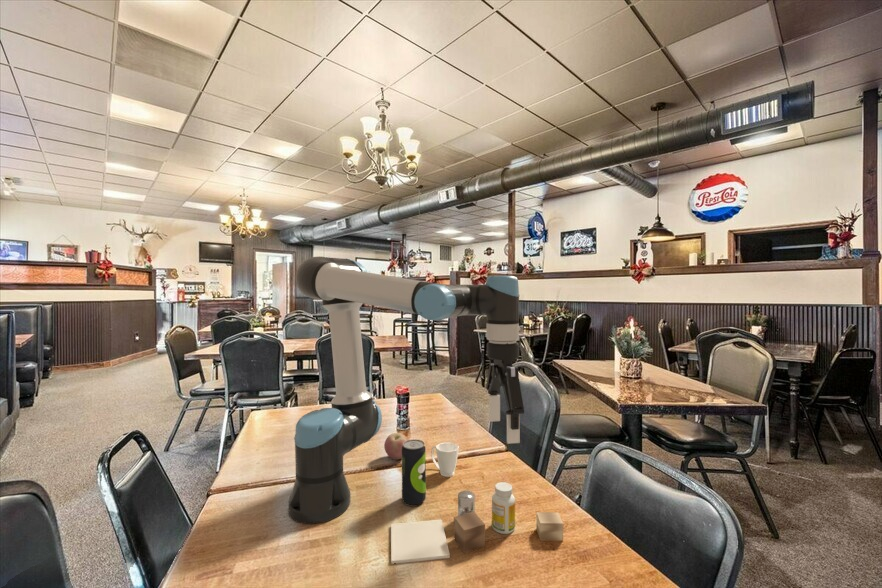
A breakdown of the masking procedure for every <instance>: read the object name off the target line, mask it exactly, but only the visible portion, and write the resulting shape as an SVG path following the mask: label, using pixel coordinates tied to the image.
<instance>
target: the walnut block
mask: <svg viewBox="0 0 882 588" xmlns="http://www.w3.org/2000/svg"><path fill="white" fill-rule="evenodd" d="M453 518H454V519H453V538H455V539H454V541H455V542H456V543H457V545H458V546H459V548H460V549H461V551H462V553H464V554H467V553H470V552H473V551H475V550H479V549H483V548H485V547H486V523H485V522H484V521H483V520H482V518H480V517H479V516H478V514H477V513H476V511H475V512H470V513H467V514H463V515H459V516H458V515H455V516H454V517H453ZM466 552H467V553H466Z"/></svg>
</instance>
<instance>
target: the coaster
mask: <svg viewBox="0 0 882 588" xmlns="http://www.w3.org/2000/svg"><path fill="white" fill-rule="evenodd" d="M444 528H445V527H444V522H443V519H432V520H421V521H420V520H419V521H410V522H397V523H396V522H395V523H390V544H391V545H390V546H391V547H390V552H391V553H390V554H391V555H390V557H391V558H390V560H391V561H390V563H391V565H394V563H396V564H404V563H413V562H424V561H425V562H426V561H435V560H443V559H449V558H451V557H450V555H451V554H450V550H449V546H448V542H447V541H448V539H447V538H446V533H445V529H444Z"/></svg>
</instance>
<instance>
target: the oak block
mask: <svg viewBox="0 0 882 588" xmlns="http://www.w3.org/2000/svg"><path fill="white" fill-rule="evenodd" d="M535 516H536V519H535V521H536V528H535V529H536V531H537V534H538V537H539V540H540V541H542V542H543V541H544V542H545V541H546V542H547V541H548V542H550V541H552V542H564V522H563V520H562V518H561V515H560V513H559V512H553V511H552V512H549V511H548V512H547V511H546V512H545V511H542V512H541V511H536V515H535Z"/></svg>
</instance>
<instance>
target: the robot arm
mask: <svg viewBox="0 0 882 588" xmlns="http://www.w3.org/2000/svg"><path fill="white" fill-rule="evenodd" d="M295 282H296V286H297V288H298V291H300V292H301V293H302V294H303V295H304V296H305V297H308V298H310V299H314V300H321V301H322V307H323V308H324V309H325V310H326V311H327V312H328V317H329V328H330V341H331V351H332V360H333V361H332V362H333V363H332V364H333V372H334V373H333V375H334V385H335V395H334V397H333V398H332V400H331V401H330V403H331V407H324V408H320V409H315V410H311V411H310V412H307V413H305V414H303V415H302V416H301V417H300V418H299V419H298V420H297V422H296V424H295V433H294V453H295V455H294V458H295V460H294V461H295V480H294V485H293V487H292V490H291V493H290V496H289V499H288V505H287V506H288V515H289V517H290V519H292V520H293V521H295V522H297V523H301V524H312V525H313V524H321V523H324V522H328V521H331V520H333V519H335V518H337V517H339V516H340V515H343V513H345V512H346V511H347V510H348V508H349V507H350V505H351V490H350V488H349V485H348V482H347V478H346V476H345V473H344V455H346V454H347V453H349V452H351V451H353V450H355V449H356V448H358V447H360V446H362V444H366V443H368V441H370V440H371V439H372V438H373V437H375V436H376V434H378V432H379V430H380V429H381V426H382V422H383V421H382V420H383V416H382V415H383V414H382V411H381V410H382V409H381V407H380V406H379V405H378V404H377V402H376V401H375V400H374V399H373V394H372V393H371V392H369V391H368V389H367V384H366V383H367V382H366V371H365V363H364V351H363V350H364V349H363V340H362V328H361V316H360V308H361V307H362V306H363V305H369V306H373V307H374V306H375V307H379V308H384V309H390V310H394V311H400V312H405V313H409V314H415V315H418V316H421V318H423V319H424V320H427V321H443V320H445V319H451V318H456V317H462V316H482V317H483V316H485V317H486V340H487V343H486V357H487V358H488V359H489V367H488V372H487V379H486V385H485V389H486V390H487V394H488V421H489V422H491V423H492V422H500V421H501V394H502V390H503V395H504V398H505V402H506V408H507V410H506V411H505V416H506V444H520V443H521V439H520V437H521V436H520V435H521V434H520V433H521V431H520V429H521V423H520V421H521V417H520V415H523V414H525V406H524V401H523V397H522V396H523V394H522V391H521V389H522V388H521V383H520V378H519V373H520V372H519V367H518V366H513V361H514V360H517V359H519V357H520V343H519V342H518V341H519V339H520V332H519V331H521V329H522V328H521V327H520V319H519V318H520V314H519V313H520V291H519V290H520V289H519V279H518V277H516V276H514V275H489V276H488V277H486V282H485V283H482V284H457V283H455V284H453V283H452V284H446V283H443V284H442V283H438V282H437V283H436V282H430V281H423V280H418V279H417V280H416V279H411V278H403V277H399V276H398V277H397V276H392V275H387V274H379V273H374V272H368V271H367V269H366V268H365V266H364V265H363V264H362V263H360V262H358V261H357V260H352V259H350V258H341V257H330V256H328V257H326V256H312V257H310V258H307V259H305V260H304V261H303V262H301V264H300V265H299V266H298V267H297V270H296V273H295ZM501 387H502V388H503V389H502V390H501Z"/></svg>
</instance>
